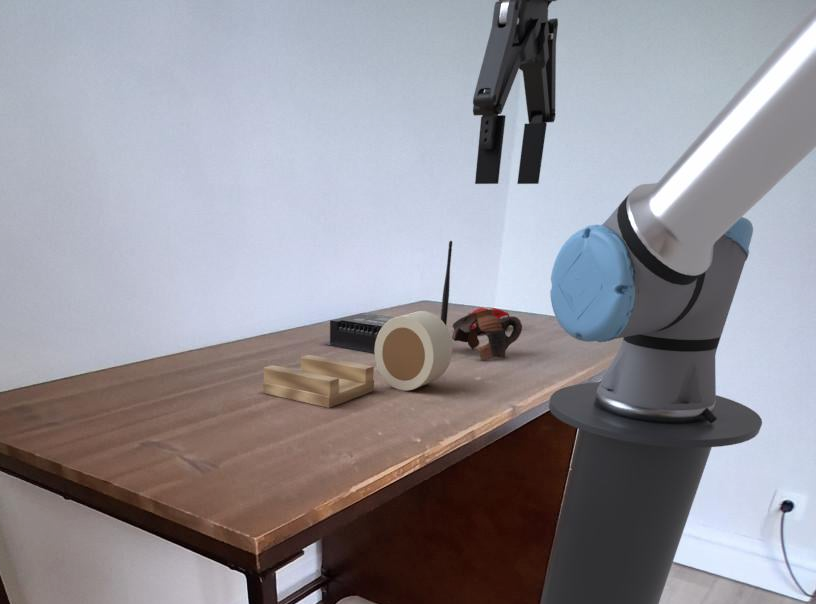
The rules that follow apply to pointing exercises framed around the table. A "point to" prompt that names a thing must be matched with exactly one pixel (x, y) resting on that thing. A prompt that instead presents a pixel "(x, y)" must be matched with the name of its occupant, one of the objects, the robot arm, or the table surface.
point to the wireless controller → (373, 323)
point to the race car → (497, 313)
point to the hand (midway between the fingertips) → (508, 184)
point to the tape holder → (319, 381)
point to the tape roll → (413, 350)
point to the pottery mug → (487, 332)
